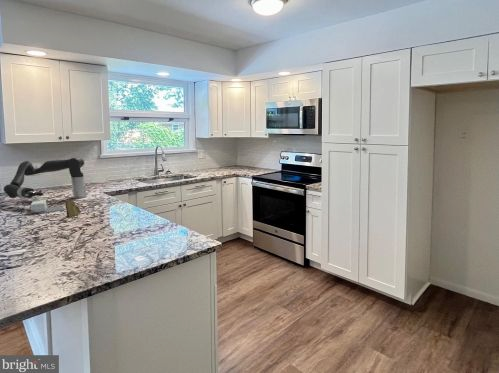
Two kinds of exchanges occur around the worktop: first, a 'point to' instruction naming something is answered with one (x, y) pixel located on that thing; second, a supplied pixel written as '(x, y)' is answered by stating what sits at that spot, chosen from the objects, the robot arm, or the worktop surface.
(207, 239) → the worktop surface
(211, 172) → the worktop surface
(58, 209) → the mat
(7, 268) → the worktop surface
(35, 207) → the skincare box
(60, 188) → the worktop surface
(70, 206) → the rock
